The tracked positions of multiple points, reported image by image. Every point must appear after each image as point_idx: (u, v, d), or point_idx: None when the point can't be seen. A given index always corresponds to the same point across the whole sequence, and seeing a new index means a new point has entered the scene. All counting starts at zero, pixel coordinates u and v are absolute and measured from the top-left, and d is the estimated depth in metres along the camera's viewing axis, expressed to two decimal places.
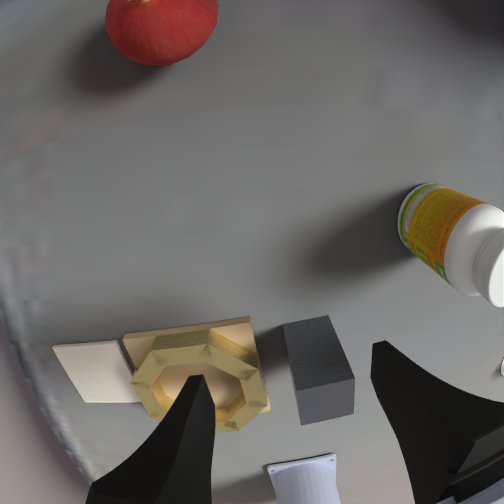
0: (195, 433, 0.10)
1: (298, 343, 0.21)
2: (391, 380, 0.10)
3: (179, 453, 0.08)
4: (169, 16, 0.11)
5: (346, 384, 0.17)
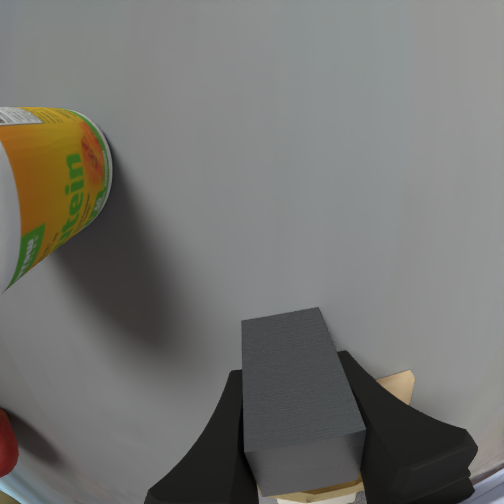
0: None
1: None
2: None
3: (237, 450, 0.08)
4: None
5: (259, 459, 0.08)
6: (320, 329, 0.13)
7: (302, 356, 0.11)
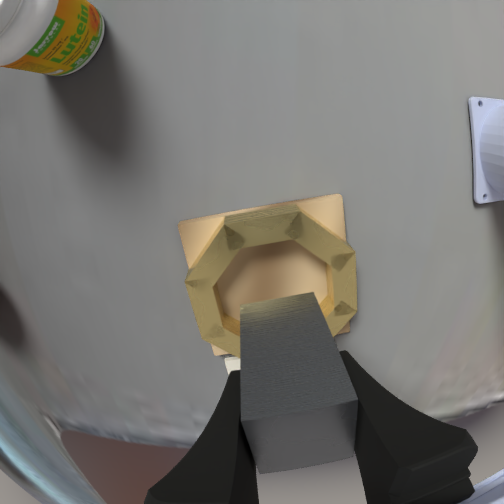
0: None
1: None
2: None
3: (237, 450, 0.08)
4: None
5: (255, 430, 0.09)
6: (315, 311, 0.13)
7: (297, 334, 0.12)
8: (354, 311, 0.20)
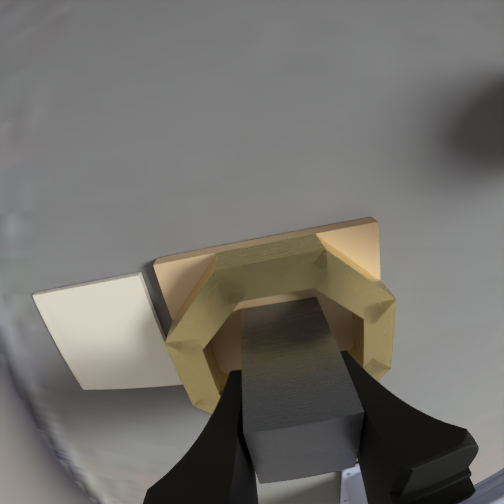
0: None
1: None
2: None
3: (237, 450, 0.08)
4: None
5: (257, 442, 0.08)
6: (318, 317, 0.13)
7: (300, 342, 0.12)
8: None
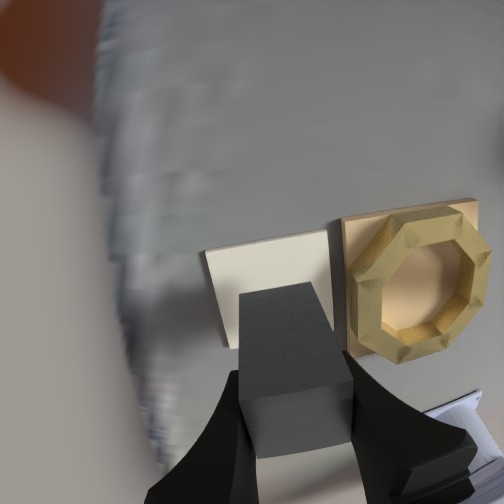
0: (245, 429, 0.10)
1: None
2: None
3: (237, 449, 0.08)
4: None
5: (252, 410, 0.09)
6: (312, 298, 0.14)
7: (294, 320, 0.12)
8: (397, 362, 0.19)
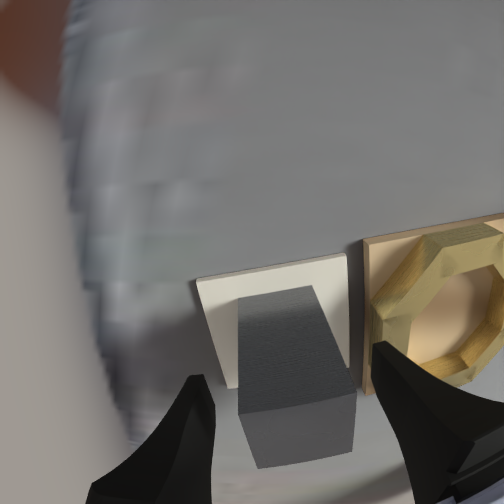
0: (195, 434, 0.10)
1: None
2: (391, 380, 0.10)
3: (179, 453, 0.08)
4: None
5: (253, 423, 0.09)
6: (313, 304, 0.13)
7: (295, 327, 0.12)
8: None
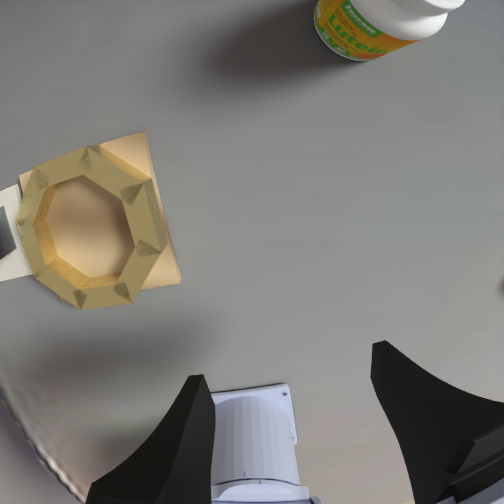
0: (195, 433, 0.10)
1: None
2: (391, 380, 0.10)
3: (179, 453, 0.08)
4: None
5: None
6: None
7: None
8: (80, 307, 0.19)
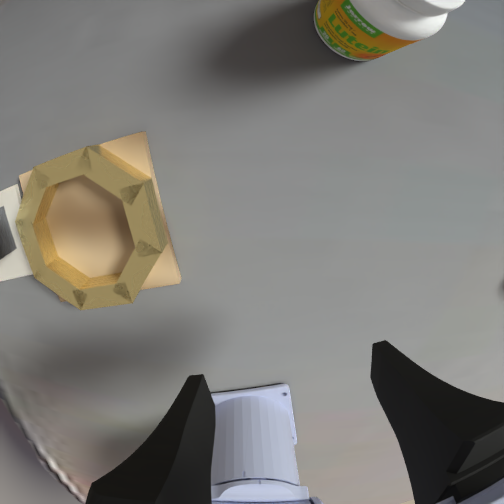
0: (195, 433, 0.10)
1: None
2: (391, 380, 0.10)
3: (179, 453, 0.08)
4: None
5: None
6: None
7: None
8: (80, 307, 0.19)
